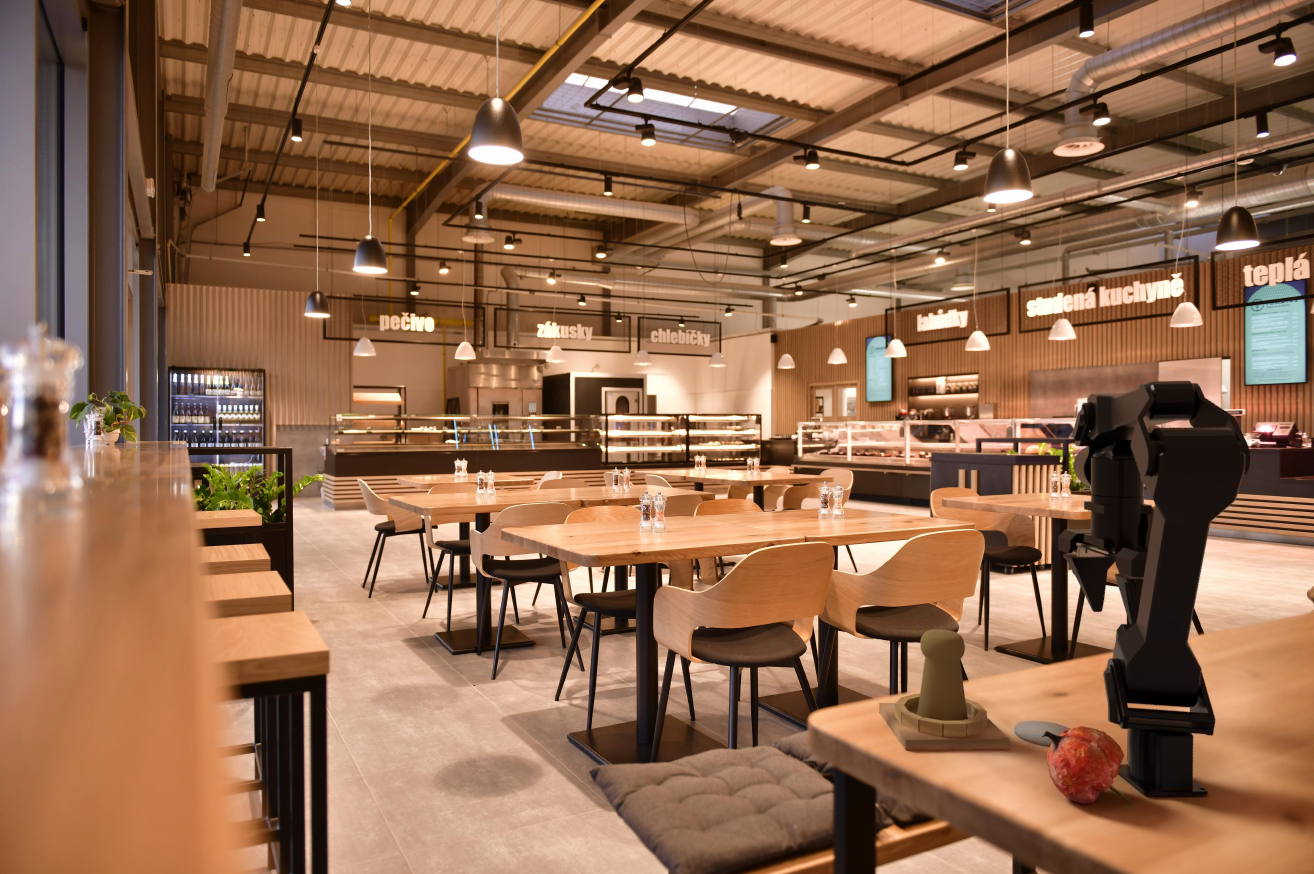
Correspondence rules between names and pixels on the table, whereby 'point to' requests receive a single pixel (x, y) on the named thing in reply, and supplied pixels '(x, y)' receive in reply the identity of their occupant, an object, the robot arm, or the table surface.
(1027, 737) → the grey coaster
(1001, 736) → the hub board
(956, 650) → the olive green peg
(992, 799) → the table surface
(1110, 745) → the pomegranate
